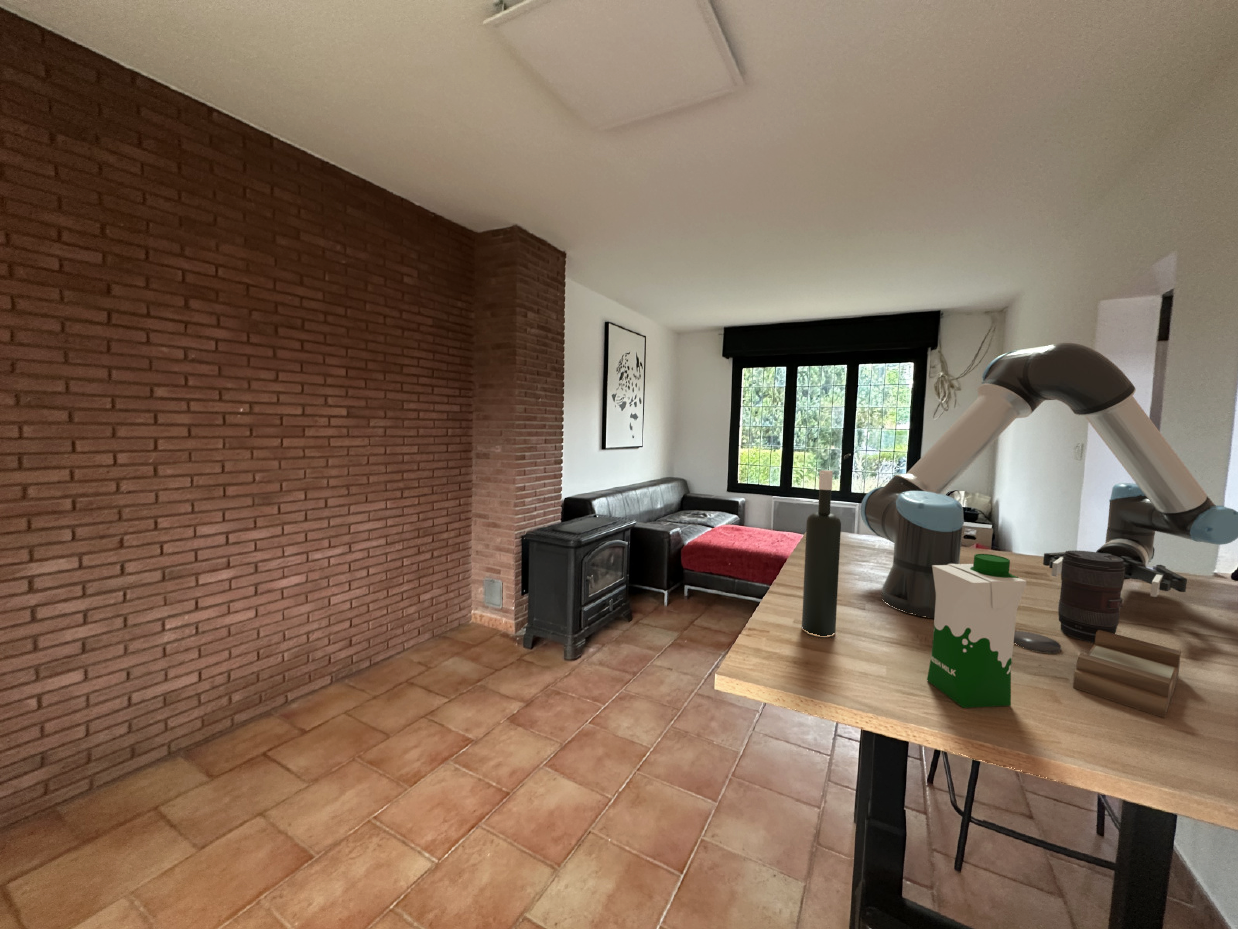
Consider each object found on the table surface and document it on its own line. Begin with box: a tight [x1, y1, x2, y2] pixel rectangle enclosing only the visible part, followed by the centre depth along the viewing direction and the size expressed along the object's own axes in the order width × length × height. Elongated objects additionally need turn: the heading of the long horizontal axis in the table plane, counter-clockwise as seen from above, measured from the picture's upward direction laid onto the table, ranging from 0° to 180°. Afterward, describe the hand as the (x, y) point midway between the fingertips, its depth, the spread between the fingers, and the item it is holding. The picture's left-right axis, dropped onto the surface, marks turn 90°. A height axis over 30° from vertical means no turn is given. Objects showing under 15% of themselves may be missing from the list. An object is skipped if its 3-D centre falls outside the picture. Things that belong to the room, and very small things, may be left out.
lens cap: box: [1013, 630, 1062, 654], centre depth 85 cm, size 7×7×1 cm
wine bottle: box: [801, 469, 842, 636], centre depth 88 cm, size 6×6×30 cm
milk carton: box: [926, 553, 1027, 709], centre depth 69 cm, size 9×9×20 cm
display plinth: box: [1072, 630, 1182, 719], centre depth 72 cm, size 17×9×4 cm, turn 127°
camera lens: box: [1057, 550, 1125, 644], centre depth 87 cm, size 8×8×15 cm
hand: (1101, 579), depth 92 cm, fingers open, 13 cm apart
